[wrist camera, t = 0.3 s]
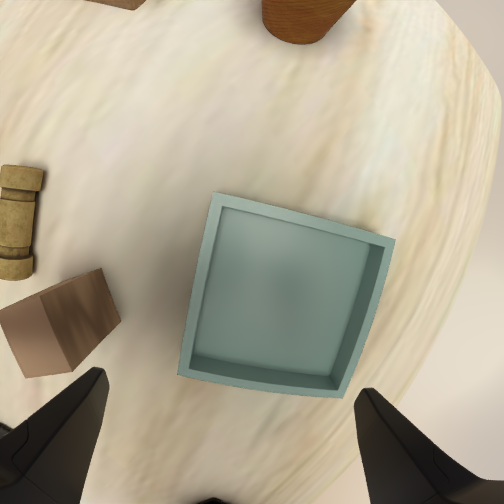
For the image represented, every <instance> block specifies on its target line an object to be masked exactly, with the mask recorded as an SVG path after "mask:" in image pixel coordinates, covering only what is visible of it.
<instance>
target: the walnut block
mask: <svg viewBox="0 0 504 504" xmlns="http://www.w3.org/2000/svg"><path fill="white" fill-rule="evenodd" d="M120 322H121V320H120V317H119V315H118V312H117V310H116V307H115V305H114V302H113V299H112V297H111V294H110V291H109V289H108V286H107V283H106V280H105V277H104V275H103V272H102V269H101V268H100V269H97V270H94V271H91V272H88V273H86V274H83V275H80V276H77V277H74V278H72V279H69V280H66V281H63V282H61V283H58V284H56V285H54V286H51V287H49V288H47V289H45V290H42V291H40V292H38V293H36V294H34V295H31V296H29V297H27V298H25V299H23V300H20V301H18V302H16V303H14V304H12V305H10V306H8V307H5V308H3V309H1V310H0V324H1V327H2V329H3V332H4V334H5V336H6V339H7V341H8V343H9V346H10V348H11V350H12V352H13V354H14V356H15V359H16V361H17V363H18V365H19V367H20V369H21V371H22V373H23V374H24V376H25V378H32V377H40V376H47V375H54V374H61V373H68V372H73V371H74V370H75V369H76V367H77V366H78V365H79V364H80V363H81V362H82V361H83V360H84V359H85V358H86V357H87V356H88V355H89V354H90V353H91V352H92V351H93V350H94V349H95V348H96V346H97V345H98V344H99V343H100V342H101V341H102V340H103V339H104V338H105V337H106V336H107V335H108V334H109V333H110V332H111V331H112V330H113V329H114V328H115V327H116V326H117V325H118V324H119V323H120Z"/></svg>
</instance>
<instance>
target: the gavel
mask: <svg viewBox="0 0 504 504" xmlns="http://www.w3.org/2000/svg"><path fill="white" fill-rule="evenodd" d="M42 177H43V171H42V170H41V169H37V168H31V167H25V166H17V165H3V166H1V171H0V187H2V191H1V198H0V279H3V280H10V281H18V280H24V279H27V278H29V277H30V276H31V275H32V267H33V254H31V253H29V246H30V245H31V236H32V225H33V216H34V208H35V201H34V198H35V191H40V188H41V183H42Z"/></svg>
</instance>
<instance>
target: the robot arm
mask: <svg viewBox="0 0 504 504" xmlns="http://www.w3.org/2000/svg"><path fill="white" fill-rule="evenodd" d="M108 393H109V382H108V378H107V375H106V372H105V370H104V369H102V368H98V367H92V368H91V369H90V370H88V371H87V372H86V373H84V374H83V375H82V376H81V377H79V378H78V379H77V380H76V381H74V382H73V383H72V384H70V385H69V386H68V387H67V388H65V389H64V390H63V391H62V392H60V393H59V394H58V395H56V396H55V397H54V398H53V399H51V400H50V401H49V402H48V403H46V404H45V405H44V406H43V407H41V408H40V409H39V410H37V411H36V412H35V413H34V414H32V415H31V416H30V417H29V418H28V419H27V420H25V421H23V422H22V423H21V424H20V425H18V426H17V427H16V428H14V429H13V430H12V431H10V432H9V433H7V434H6V435H4V436H3V437H1V438H0V504H80V500H81V495H82V492H83V488H84V484H85V480H86V476H87V473H88V469H89V466H90V462H91V459H92V455H93V452H94V448H95V445H96V442H97V439H98V436H99V432H100V429H101V426H102V421H103V417H104V411H105V407H106V402H107V397H108ZM354 412H355V421H356V430H357V439H358V445H359V449H360V454H361V458H362V463H363V467H364V472H365V477H366V482H367V487H368V492H369V497H370V503H371V504H504V481H497V480H486V479H482V478H480V477H478V476H476V475H475V474H473V473H471V472H470V471H468V470H467V469H466V468H464V467H463V466H461V465H460V464H459V463H457V462H456V461H455V460H453V459H452V458H451V457H449V456H448V455H447V454H446V453H445V452H443V451H442V450H441V449H440V448H439V447H438V446H437V445H435V444H434V443H433V442H432V441H431V440H430V439H429V438H428V437H426V435H424V434H423V433H422V432H421V431H420V430H419V429H418V428H417V427H416V426H414V425H413V424H412V423H411V422H410V421H409V420H408V419H407V418H406V417H405V416H404V415H402V414H401V413H400V412H399V411H398V410H397V409H396V408H395V407H394V406H393V405H392V404H391V403H389V402H388V401H387V400H386V399H385V398H384V397H383V396H382V395H381V394H380V393H379V392H378V391H377V390H375V389H374V388H363V389H362V390H361V392H360V393H359V395H358V397H357V399H356V400H355V403H354ZM199 504H226V503H224V502H222V501H220V500H218V499H216V498H212V499H209V500H207V501H204V502H201V503H199Z"/></svg>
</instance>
